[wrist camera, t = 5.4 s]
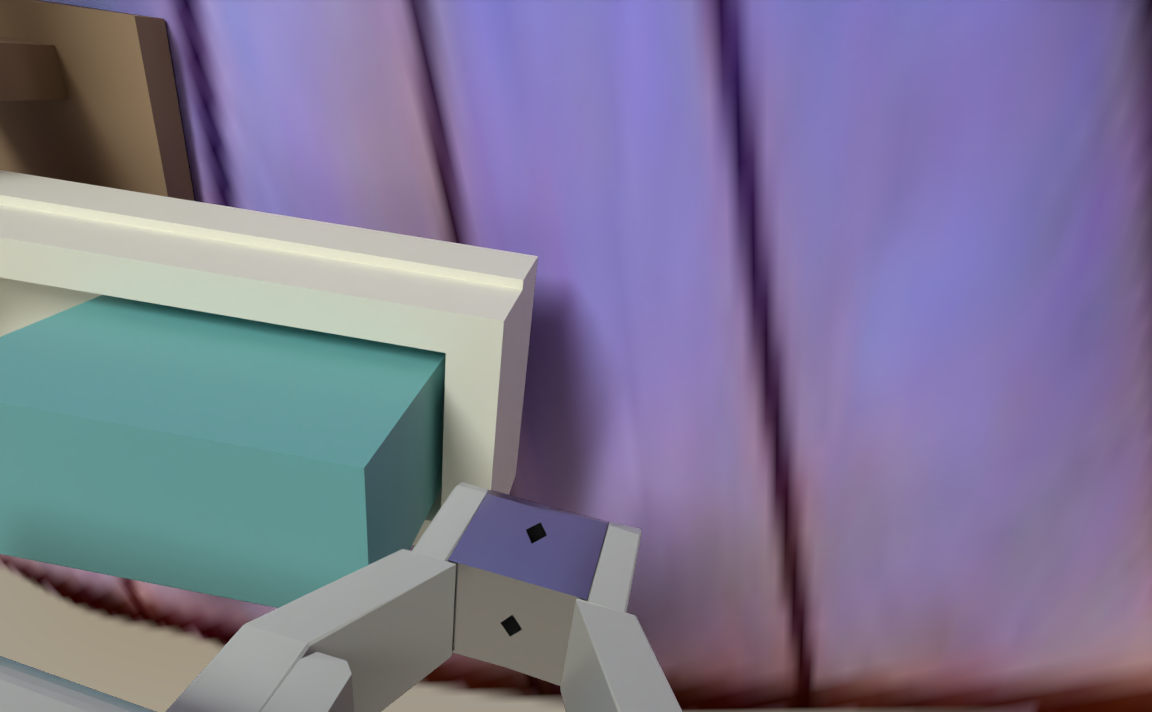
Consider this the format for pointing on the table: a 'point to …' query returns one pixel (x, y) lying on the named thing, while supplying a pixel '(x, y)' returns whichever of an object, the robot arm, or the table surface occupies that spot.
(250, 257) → the beam
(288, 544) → the rider
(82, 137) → the stand
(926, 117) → the table surface
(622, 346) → the table surface
